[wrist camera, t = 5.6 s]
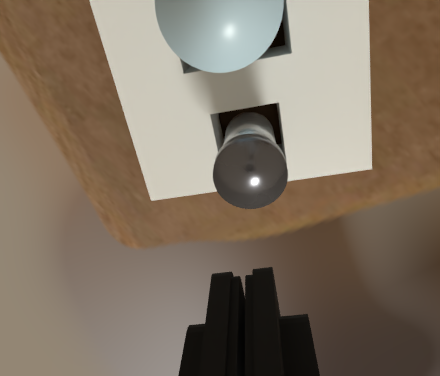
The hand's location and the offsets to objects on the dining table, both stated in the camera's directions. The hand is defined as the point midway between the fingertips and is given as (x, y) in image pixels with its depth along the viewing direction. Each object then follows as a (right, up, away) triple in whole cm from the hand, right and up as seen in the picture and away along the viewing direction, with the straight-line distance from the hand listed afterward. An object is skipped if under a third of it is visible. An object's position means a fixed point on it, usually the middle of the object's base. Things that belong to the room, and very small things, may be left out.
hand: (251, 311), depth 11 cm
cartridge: (0, +15, +12) cm, 19 cm away
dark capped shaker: (+1, +7, +13) cm, 15 cm away
